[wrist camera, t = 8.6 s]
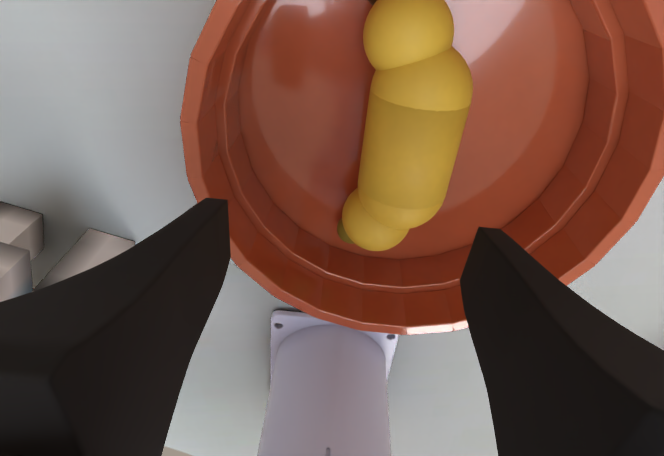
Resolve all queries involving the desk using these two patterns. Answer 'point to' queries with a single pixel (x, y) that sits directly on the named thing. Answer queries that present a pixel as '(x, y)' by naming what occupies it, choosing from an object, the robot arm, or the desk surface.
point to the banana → (407, 121)
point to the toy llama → (27, 242)
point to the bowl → (471, 161)
